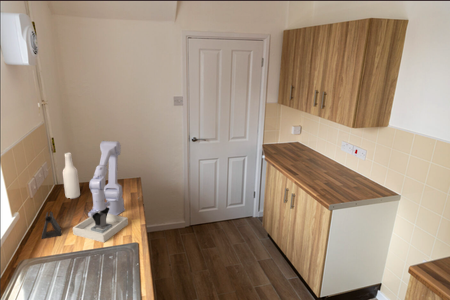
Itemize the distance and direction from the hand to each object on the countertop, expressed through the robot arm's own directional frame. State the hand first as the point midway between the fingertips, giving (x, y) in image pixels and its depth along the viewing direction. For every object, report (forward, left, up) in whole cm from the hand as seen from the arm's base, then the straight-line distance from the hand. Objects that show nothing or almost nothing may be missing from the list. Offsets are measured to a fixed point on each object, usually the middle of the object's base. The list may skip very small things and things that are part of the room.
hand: (101, 222), depth 166 cm
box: (0, 0, -4) cm, 4 cm away
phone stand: (+14, -20, -4) cm, 25 cm away
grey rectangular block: (0, 0, -2) cm, 2 cm away
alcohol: (-26, -46, -4) cm, 53 cm away
